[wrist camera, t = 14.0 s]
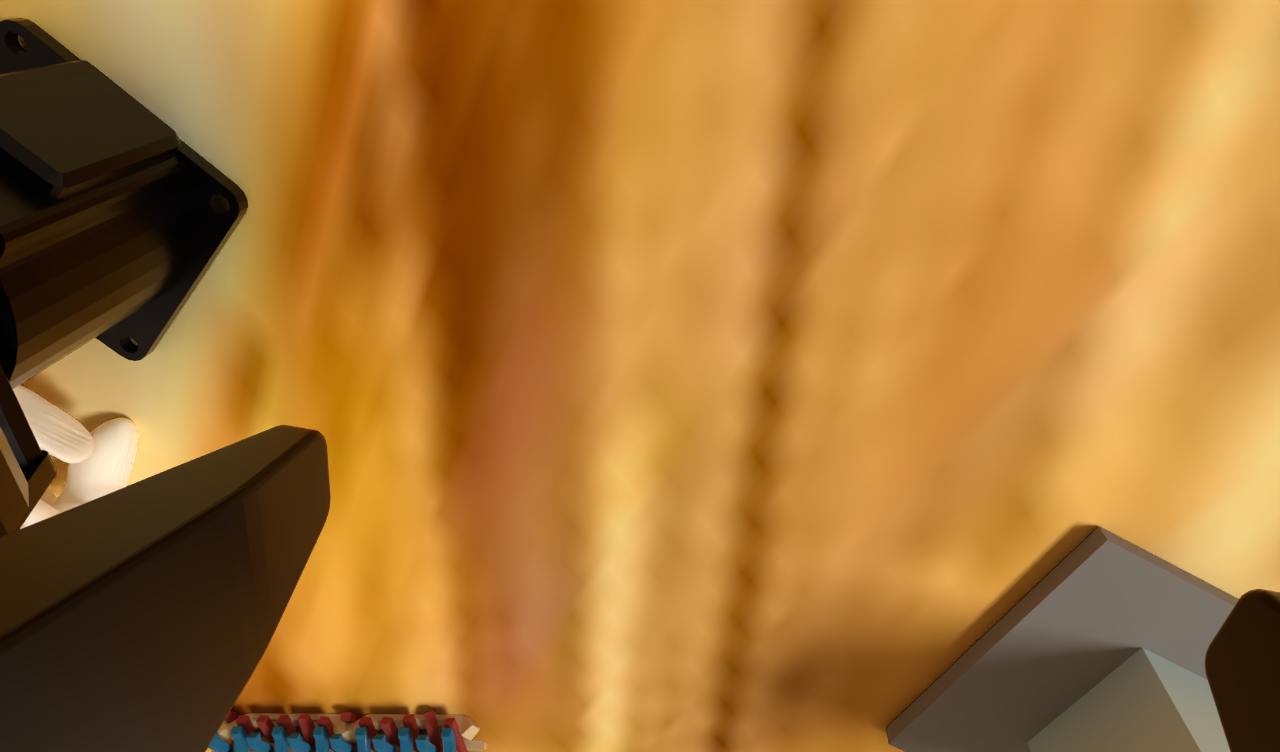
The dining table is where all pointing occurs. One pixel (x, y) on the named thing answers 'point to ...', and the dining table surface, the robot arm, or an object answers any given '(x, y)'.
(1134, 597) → the felt pad
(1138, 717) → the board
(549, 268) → the dining table surface
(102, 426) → the animal skull
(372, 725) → the woven mat
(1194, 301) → the dining table surface
